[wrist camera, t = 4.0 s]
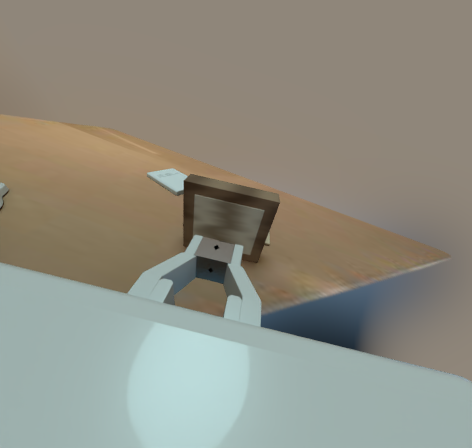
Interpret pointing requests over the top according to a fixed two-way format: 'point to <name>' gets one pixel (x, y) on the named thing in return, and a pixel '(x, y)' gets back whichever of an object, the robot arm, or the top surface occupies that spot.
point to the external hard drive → (169, 180)
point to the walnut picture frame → (228, 213)
